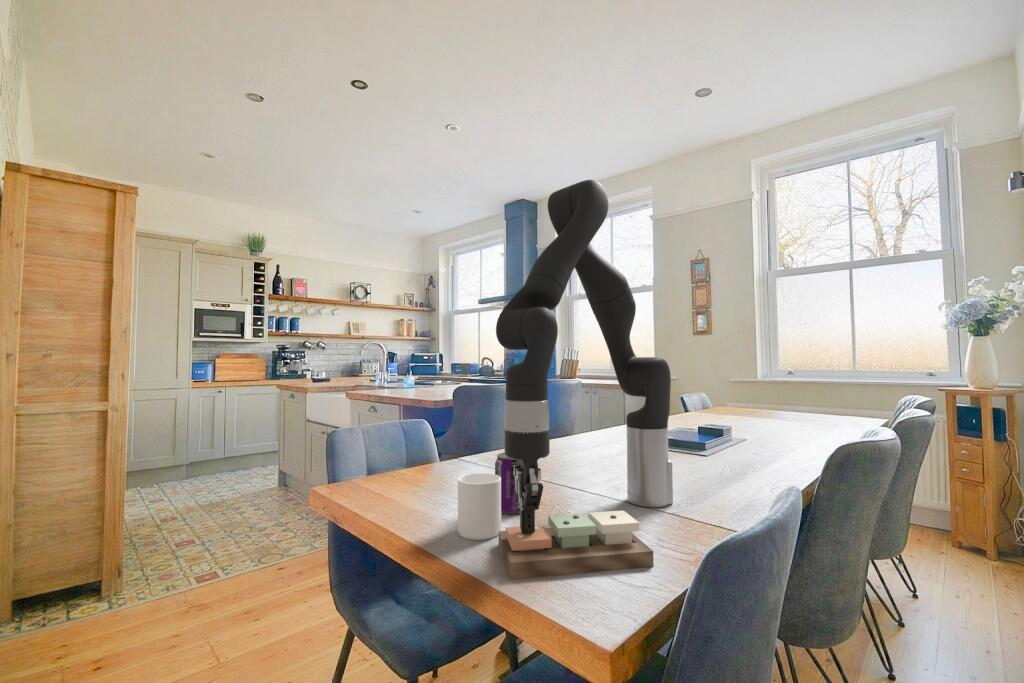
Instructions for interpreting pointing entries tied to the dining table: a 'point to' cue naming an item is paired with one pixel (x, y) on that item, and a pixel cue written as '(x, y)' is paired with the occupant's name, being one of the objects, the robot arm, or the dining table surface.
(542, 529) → the key three
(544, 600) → the dining table surface
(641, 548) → the keypad board
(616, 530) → the key one
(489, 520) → the mug
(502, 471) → the beverage can
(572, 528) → the key two
